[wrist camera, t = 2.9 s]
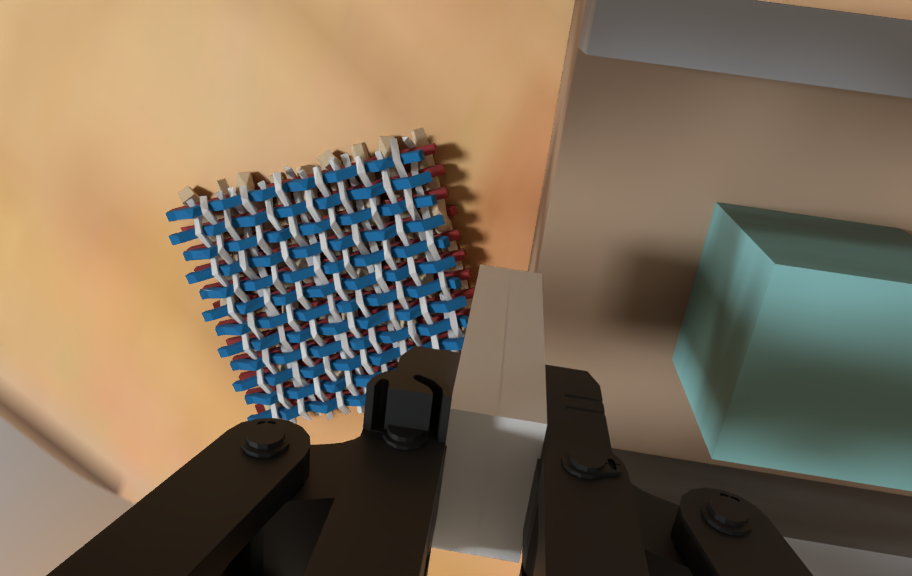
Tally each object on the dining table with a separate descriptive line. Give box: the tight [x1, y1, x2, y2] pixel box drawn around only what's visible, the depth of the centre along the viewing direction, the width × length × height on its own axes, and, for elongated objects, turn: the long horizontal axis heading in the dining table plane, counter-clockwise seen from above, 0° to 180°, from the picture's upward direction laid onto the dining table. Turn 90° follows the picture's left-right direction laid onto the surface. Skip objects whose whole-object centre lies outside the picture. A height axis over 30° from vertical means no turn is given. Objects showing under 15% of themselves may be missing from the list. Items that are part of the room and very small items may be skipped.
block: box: [672, 202, 912, 491], centre depth 17 cm, size 5×5×5 cm
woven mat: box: [166, 128, 475, 424], centre depth 26 cm, size 10×11×2 cm
